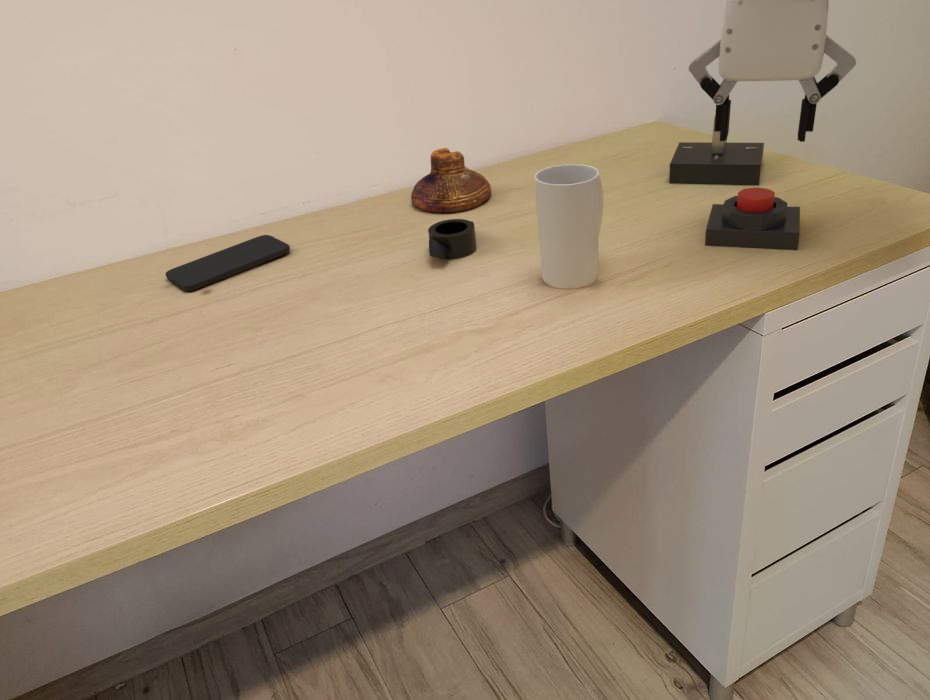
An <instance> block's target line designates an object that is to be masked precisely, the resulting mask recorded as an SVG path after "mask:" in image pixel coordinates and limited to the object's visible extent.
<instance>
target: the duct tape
mask: <svg viewBox="0 0 930 700" xmlns="http://www.w3.org/2000/svg"><path fill="white" fill-rule="evenodd" d="M427 232H428V252H429V257H432V258H435V259H439V260H455V259H461V258H464V257H467V256H470V255H471V254H474V252H475V251H476V250H477V247H478V246H477V239H476V227H475V222H474V221H473V220H472V221H471V220H469V219H464V218H451V219H450V218H449V219H444V220H441V221H438V222H435V223H433V224H432V225H430V226H429V227H428V229H427Z"/></svg>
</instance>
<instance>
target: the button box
mask: <svg viewBox="0 0 930 700" xmlns="http://www.w3.org/2000/svg"><path fill="white" fill-rule="evenodd" d="M737 197H738V195H734V196H731V197H730V198H727V199H725V200H724V201H723V204H722V203H712V206H711V209H710V213H709V215H708V216H709V217H708V220H707V224H706V228H705V240H704V247H719V248H720V247H723V248H741V249H742V248H743V249H758V250H759V249H760V250H761V249H762V250H764V249H765V250H779V251H780V250H781V251H798V248H799V242H800V234H801V206H788V202H786V201H785V200H784V199H782V198H780V197H778V196H775V198H774V206H773V209H772V210H770V211H764V212H747V211H743V210H739V209H738V208H737Z"/></svg>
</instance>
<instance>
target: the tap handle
mask: <svg viewBox="0 0 930 700" xmlns="http://www.w3.org/2000/svg"><path fill="white" fill-rule="evenodd" d="M712 124H713V126H712V138H711V139H712V140H711V143H712V152H711V154H716V155H723V153H724V149H725V146H726V143H728V142H727V141H728V139H727V140H725V141H720V132H714V128H715V116H714V118H713V123H712Z"/></svg>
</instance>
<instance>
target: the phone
mask: <svg viewBox="0 0 930 700" xmlns="http://www.w3.org/2000/svg"><path fill="white" fill-rule="evenodd" d="M290 251H291V247H290V244H288V243H287V242H284V241H282V240H281V239H278V238H276V237H274V236H272V235H271V234H270V235H269V234H263V235H259V236H256V237H253V238H250V239H248V240H245V241H243V242H240V243H238V244H234V245H232V246H229V247H227V248H226V247H225V248H224V249H221V250H219V251H215V252H213V253H211V254H208V255H205V256H202V257H199V258H197V259H195V260H192V261H189V262H187V263H183V264H181V265H178V266H176V267H173V268H171V269H168V270H167V271H166V272H165V277H166V279H167V280H168V282H171V284H174V286H175V287H178V288H179V289H180V290H182V291H184V292H191V291H195V290H198V289H200V288H203V287H206V286H209V285H211V284H213V283H216V282H218V281H221V280H224V279H226V278H228V277H231V276H233V275H236V274H239V273H241V272H245V271H246V270H248V269H252V268H253V267H256V266H258V265H261V264H264V263H266V262H269V261H272V260H273V259H276V258H279V257H281V256H284V255H286V254H288V253H289V252H290Z"/></svg>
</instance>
